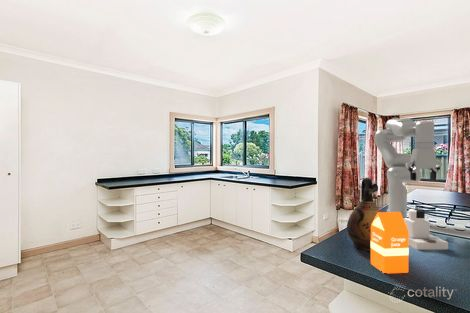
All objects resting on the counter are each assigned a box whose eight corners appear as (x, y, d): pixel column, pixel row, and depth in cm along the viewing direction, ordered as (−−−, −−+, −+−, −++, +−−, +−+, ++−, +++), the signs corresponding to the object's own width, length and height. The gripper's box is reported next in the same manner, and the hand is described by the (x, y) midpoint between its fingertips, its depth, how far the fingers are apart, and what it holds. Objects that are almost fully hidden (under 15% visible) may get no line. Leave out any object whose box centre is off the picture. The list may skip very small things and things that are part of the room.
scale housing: (393, 236, 120) (393, 229, 120) (420, 236, 120) (420, 229, 120) (418, 250, 103) (418, 241, 103) (449, 250, 103) (449, 241, 103)
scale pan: (396, 233, 119) (396, 231, 119) (419, 233, 119) (419, 231, 119) (412, 241, 108) (412, 239, 108) (438, 241, 108) (438, 239, 108)
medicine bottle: (419, 233, 117) (419, 207, 117) (430, 238, 110) (430, 211, 110) (403, 232, 118) (403, 207, 117) (413, 238, 110) (413, 211, 110)
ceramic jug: (393, 255, 98) (394, 180, 98) (352, 253, 101) (352, 180, 101) (378, 240, 115) (378, 176, 114) (342, 238, 118) (342, 175, 117)
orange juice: (370, 263, 92) (370, 209, 91) (392, 262, 92) (393, 209, 92) (384, 273, 84) (384, 215, 83) (409, 272, 84) (409, 214, 84)
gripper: (436, 146, 128) (435, 178, 129) (401, 146, 129) (400, 179, 130) (447, 146, 120) (446, 181, 121) (411, 146, 121) (410, 181, 122)
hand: (423, 180), depth 125 cm, fingers open, 9 cm apart
